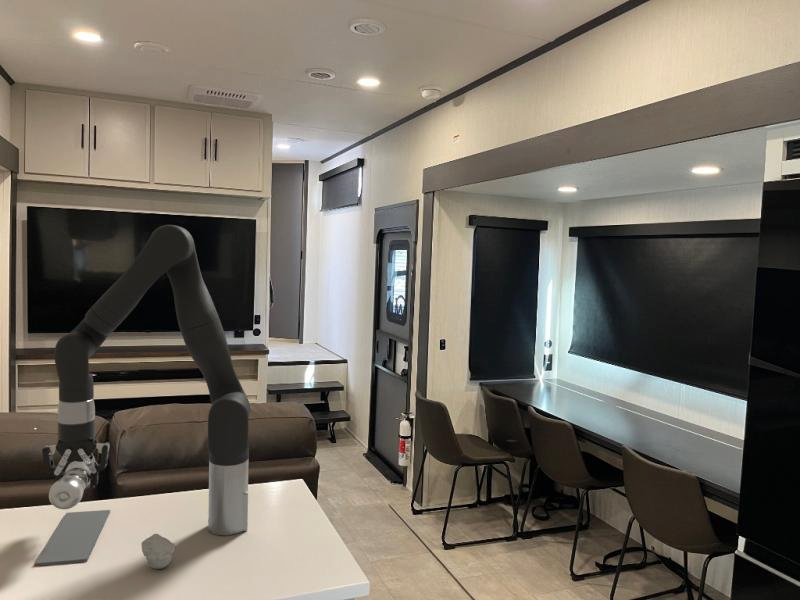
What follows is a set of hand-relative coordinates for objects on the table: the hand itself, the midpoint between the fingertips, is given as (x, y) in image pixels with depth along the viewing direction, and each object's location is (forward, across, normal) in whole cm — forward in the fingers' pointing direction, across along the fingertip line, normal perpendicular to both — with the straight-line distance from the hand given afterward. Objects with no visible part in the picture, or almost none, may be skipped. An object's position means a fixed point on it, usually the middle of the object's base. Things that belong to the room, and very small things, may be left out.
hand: (76, 487), depth 140 cm
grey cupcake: (+11, -20, +18) cm, 29 cm away
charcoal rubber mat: (+11, 0, +1) cm, 11 cm away
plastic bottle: (-2, 0, +11) cm, 12 cm away
